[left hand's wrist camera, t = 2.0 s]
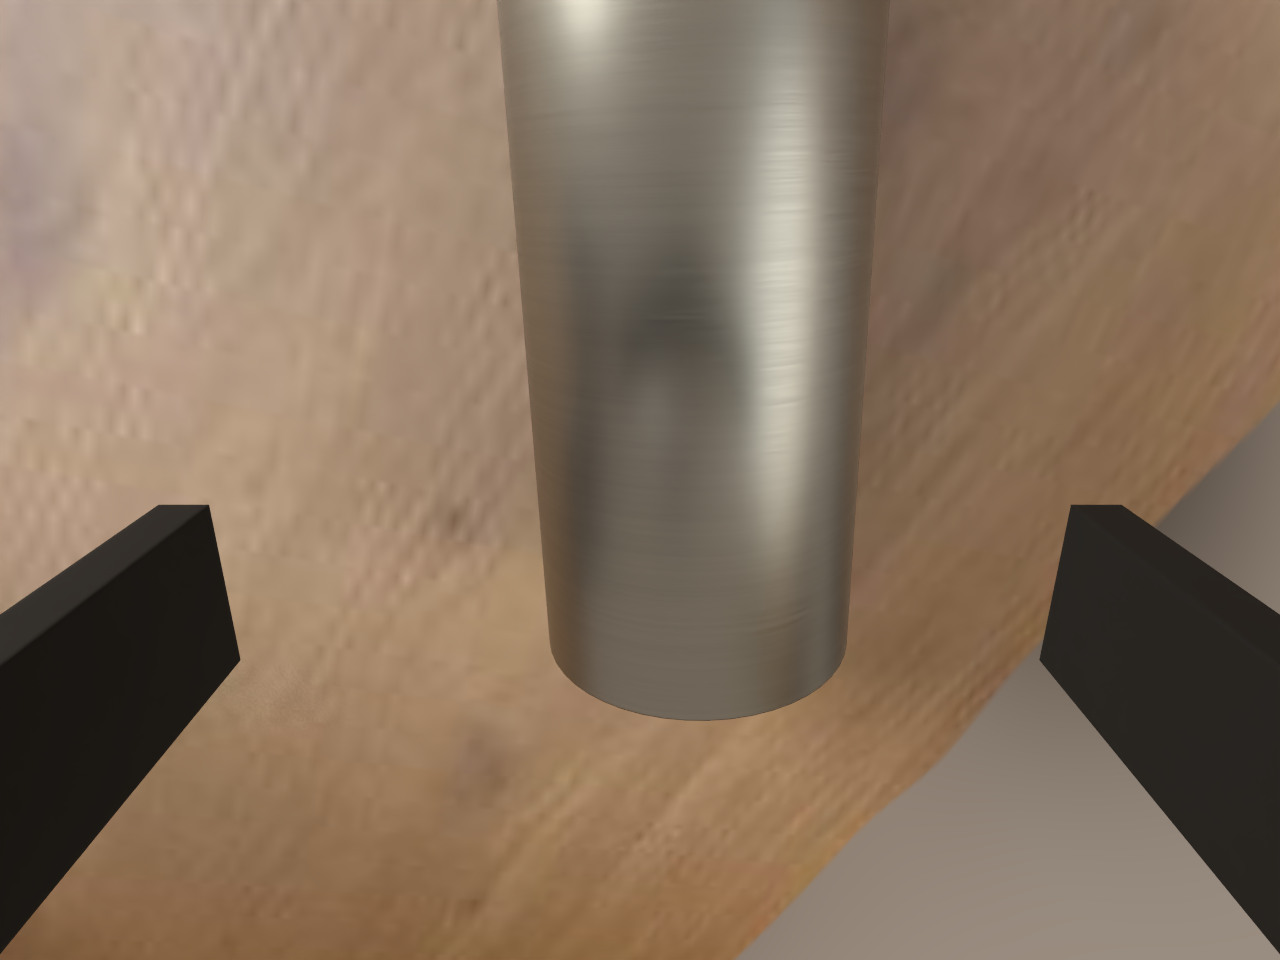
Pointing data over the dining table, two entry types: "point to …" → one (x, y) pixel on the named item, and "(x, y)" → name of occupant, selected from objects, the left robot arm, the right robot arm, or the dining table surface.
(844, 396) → the rod
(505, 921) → the dining table surface
